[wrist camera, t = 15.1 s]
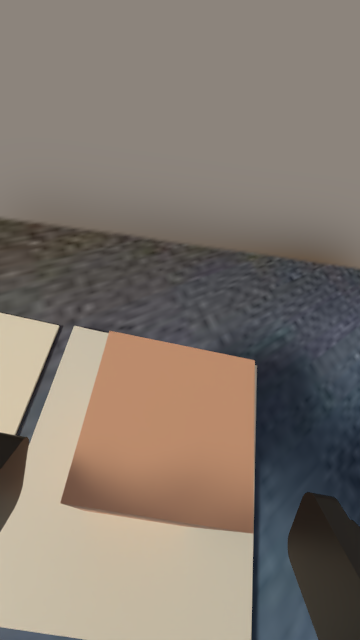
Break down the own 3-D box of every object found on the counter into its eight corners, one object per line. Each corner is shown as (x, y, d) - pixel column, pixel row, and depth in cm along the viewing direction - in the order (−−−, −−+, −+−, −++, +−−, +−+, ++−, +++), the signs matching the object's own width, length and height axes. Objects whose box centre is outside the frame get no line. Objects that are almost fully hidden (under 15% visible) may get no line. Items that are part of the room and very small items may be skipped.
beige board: (253, 369, 22) (257, 365, 21) (245, 658, 14) (250, 663, 14) (75, 330, 21) (74, 325, 21) (-32, 617, 14) (-38, 621, 13)
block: (196, 424, 19) (254, 360, 11) (186, 526, 16) (253, 533, 9) (109, 408, 18) (109, 330, 11) (84, 510, 16) (59, 503, 8)
